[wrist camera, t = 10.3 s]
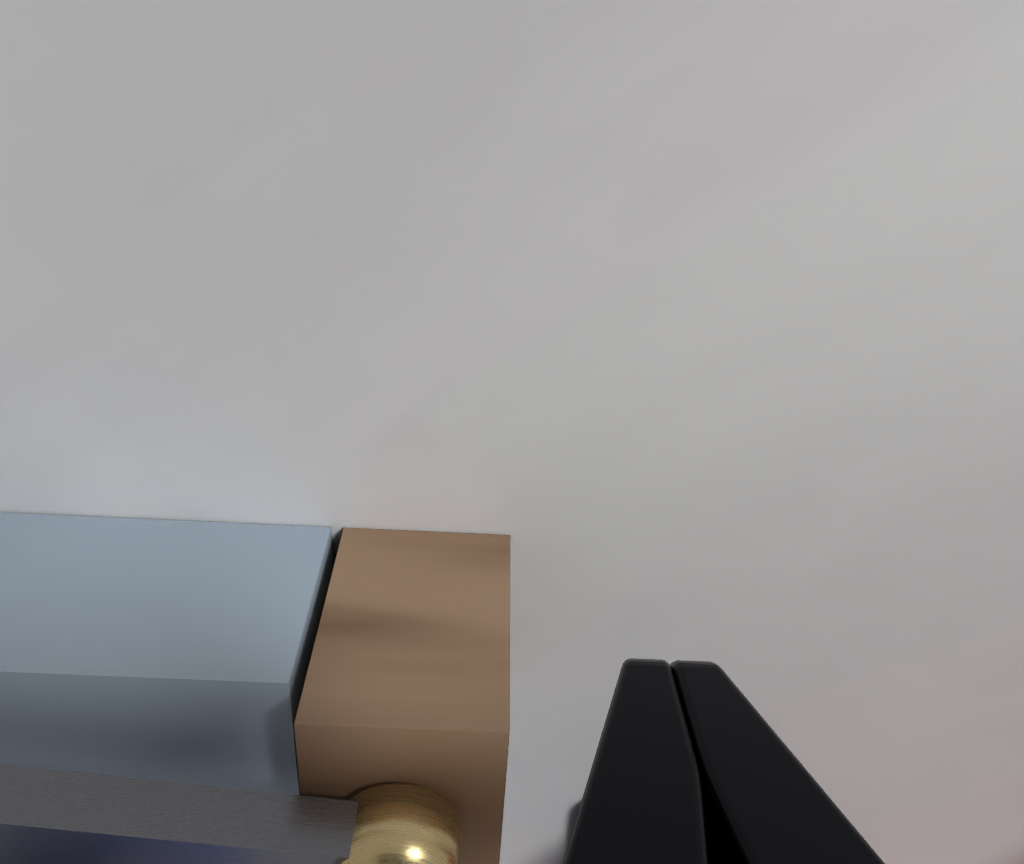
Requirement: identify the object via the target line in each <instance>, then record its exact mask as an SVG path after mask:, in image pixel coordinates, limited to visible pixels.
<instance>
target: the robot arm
mask: <svg viewBox="0 0 1024 864" xmlns="http://www.w3.org/2000/svg"><path fill="white" fill-rule="evenodd" d="M563 864H885V863H884V862H883V861H882V860H881V858H880V857H879V856H878V855H877V854H876V853H875V851H874V850H873V849H872V848H871V847H870V845H869V844H868V843H867V842H866V841H865V839H864V838H863V837H862V836H861V835H860V833H859V832H858V831H857V830H856V829H855V827H854V826H853V825H852V824H851V823H850V821H849V820H848V819H847V818H846V817H845V816H844V814H843V813H842V812H841V811H840V810H839V808H838V807H837V806H836V805H835V804H834V802H833V801H832V800H831V799H830V798H829V796H828V795H827V794H826V793H825V792H824V790H823V789H822V788H821V787H820V786H819V784H818V783H817V782H816V781H815V780H814V778H813V777H812V776H811V775H810V774H809V773H808V771H807V770H806V769H805V768H804V767H803V765H802V764H801V763H800V762H799V761H798V759H797V758H796V757H795V756H794V755H793V753H792V752H791V751H790V750H789V749H788V747H787V746H786V745H785V744H784V743H783V741H782V740H781V739H780V738H779V737H778V736H777V734H776V733H775V732H774V731H773V730H772V728H771V727H770V726H769V725H768V724H767V722H766V721H765V720H764V719H763V718H762V716H761V715H760V714H759V713H758V712H757V710H756V709H755V708H754V707H753V706H752V704H751V703H750V702H749V701H748V700H747V699H746V697H745V696H744V695H743V694H742V693H741V691H740V690H739V689H738V688H737V687H736V685H735V684H734V683H733V682H732V681H731V679H730V678H729V677H728V676H727V675H726V673H725V672H724V671H723V670H722V669H721V668H720V667H719V666H718V665H716V664H715V663H713V662H704V661H680V660H678V661H675V662H673V663H671V665H669V664H668V663H667V662H666V661H665V660H656V659H627V660H625V662H624V663H623V665H622V668H621V671H620V675H619V678H618V681H617V685H616V688H615V691H614V695H613V698H612V701H611V705H610V708H609V711H608V715H607V718H606V721H605V725H604V728H603V731H602V735H601V738H600V742H599V745H598V748H597V752H596V755H595V758H594V762H593V765H592V768H591V772H590V775H589V778H588V782H587V785H586V788H585V792H584V795H583V798H582V802H581V805H580V808H579V812H578V815H577V818H576V822H575V825H574V829H573V832H572V835H571V839H570V842H569V845H568V849H567V852H566V855H565V859H564V862H563Z"/></svg>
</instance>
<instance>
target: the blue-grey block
mask: <svg viewBox="0 0 1024 864" xmlns="http://www.w3.org/2000/svg"><path fill="white" fill-rule="evenodd" d="M332 572H333V554H332V536H331V527H316V526H294V525H272V524H249V523H227V522H205V521H182V520H160V519H138V518H115V517H93V516H71V515H49V514H26V513H4V512H0V764H5V765H14V766H24V767H34V768H43V769H53V770H62V771H72V772H81V773H91V774H101V775H110V776H120V777H129V778H139V779H148V780H158V781H168V782H177V783H187V784H196V785H206V786H216V787H225V788H235V789H244V790H254V791H263V792H273V793H283V794H292V795H301V793H300V782H299V771H298V760H297V750H296V739H295V728H294V723H295V719H296V715H297V711H298V707H299V703H300V699H301V695H302V691H303V687H304V683H305V679H306V675H307V671H308V667H309V663H310V659H311V655H312V651H313V647H314V643H315V639H316V635H317V631H318V627H319V623H320V619H321V616H322V612H323V608H324V604H325V600H326V596H327V592H328V588H329V584H330V580H331V576H332Z"/></svg>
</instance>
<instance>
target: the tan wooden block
mask: <svg viewBox="0 0 1024 864" xmlns="http://www.w3.org/2000/svg"><path fill="white" fill-rule="evenodd" d="M294 728H295V739H296V750H297V760H298V771H299V782H300V793H301V795H302V796H311V797H321V798H330V799H340V800H350V799H351V798H353V797H354V796H355V795H356V794H358V793H360V792H362V791H364V790H366V789H368V788H371V787H375V786H379V785H384V784H397V783H401V784H412V785H417V786H422V787H425V788H428V789H431V790H433V791H436V792H438V793H440V794H441V795H443V796H445V797H446V798H447V799H449V800H450V801H451V802H452V803H453V804H454V805H455V807H456V808H457V809H458V811H459V813H460V815H461V818H462V841H461V861H460V864H499V859H500V846H501V834H502V821H503V808H504V796H505V783H506V770H507V758H508V745H509V729H510V535H495V534H472V533H450V532H428V531H405V530H383V529H361V528H343V532H342V536H341V540H340V544H339V548H338V552H337V556H336V560H335V564H334V568H333V572H332V576H331V580H330V584H329V588H328V592H327V596H326V600H325V604H324V608H323V612H322V616H321V619H320V623H319V627H318V631H317V635H316V639H315V643H314V647H313V651H312V655H311V659H310V663H309V667H308V671H307V675H306V679H305V683H304V687H303V691H302V695H301V699H300V703H299V707H298V711H297V715H296V719H295V723H294Z"/></svg>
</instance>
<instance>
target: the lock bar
mask: <svg viewBox="0 0 1024 864" xmlns="http://www.w3.org/2000/svg"><path fill="white" fill-rule="evenodd" d="M461 841H462V818H461V815H460V813H459V811H458V809H457V808H456V807H455V805H454V804H453V803H452V802H451V801H450V800H449V799H447V798H446V797H445V796H443V795H441V794H440V793H438V792H436V791H433V790H431V789H428V788H425V787H422V786H417V785H412V784H401V783H397V784H384V785H379V786H375V787H371V788H368V789H366V790H364V791H362V792H360V793H358V794H356V795H355V796H354V797H353V798H351V799H350V800H340V799H330V798H321V797H311V796H302V795H292V794H283V793H273V792H263V791H254V790H244V789H235V788H225V787H216V786H206V785H196V784H187V783H177V782H168V781H158V780H148V779H139V778H129V777H120V776H110V775H101V774H91V773H81V772H72V771H62V770H53V769H43V768H34V767H24V766H14V765H5V764H0V864H460V861H461Z"/></svg>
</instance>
